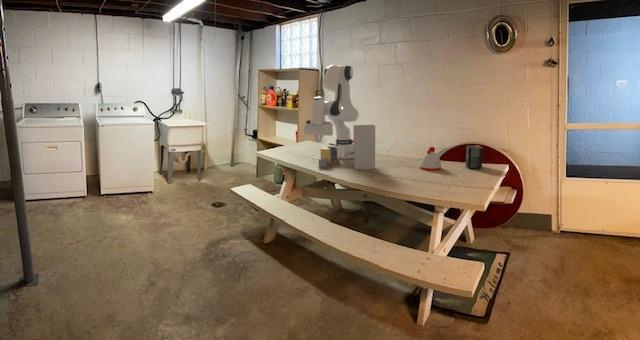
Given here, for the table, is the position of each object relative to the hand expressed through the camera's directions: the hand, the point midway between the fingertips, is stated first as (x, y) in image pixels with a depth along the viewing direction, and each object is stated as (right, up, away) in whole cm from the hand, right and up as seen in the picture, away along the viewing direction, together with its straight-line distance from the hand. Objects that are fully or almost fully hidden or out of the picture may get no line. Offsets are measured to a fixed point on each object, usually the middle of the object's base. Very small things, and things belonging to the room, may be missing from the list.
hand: (318, 141), depth 283 cm
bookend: (+3, -17, +9) cm, 20 cm away
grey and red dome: (+76, -19, +2) cm, 79 cm away
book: (+5, -16, +17) cm, 23 cm away
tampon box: (+106, -18, +2) cm, 108 cm away
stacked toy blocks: (+6, -17, +16) cm, 24 cm away
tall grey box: (+32, -18, +7) cm, 37 cm away
